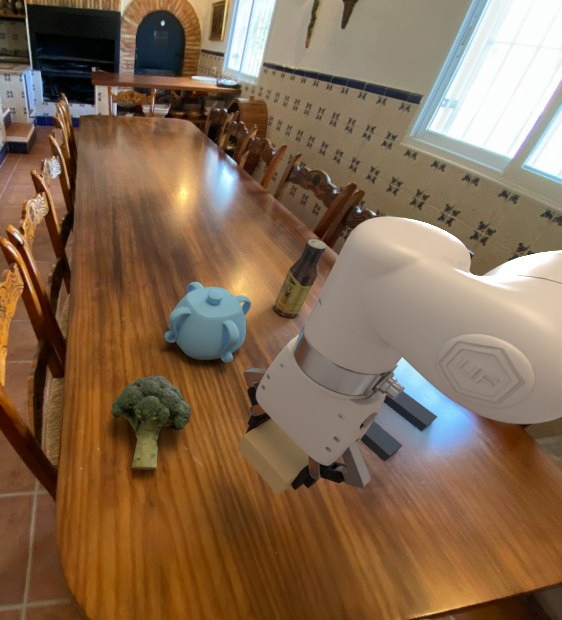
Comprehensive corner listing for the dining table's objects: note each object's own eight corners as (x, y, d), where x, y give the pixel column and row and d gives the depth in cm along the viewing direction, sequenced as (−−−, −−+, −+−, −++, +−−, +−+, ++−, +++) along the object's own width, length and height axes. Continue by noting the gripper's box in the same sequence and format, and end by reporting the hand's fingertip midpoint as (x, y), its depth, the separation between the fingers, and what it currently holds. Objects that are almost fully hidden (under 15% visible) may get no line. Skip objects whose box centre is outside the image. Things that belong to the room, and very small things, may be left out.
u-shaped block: (432, 422, 68) (437, 416, 66) (384, 461, 61) (390, 455, 60) (340, 352, 80) (343, 347, 79) (292, 378, 74) (295, 372, 72)
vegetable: (87, 458, 55) (108, 365, 61) (140, 469, 63) (154, 386, 69) (147, 471, 47) (164, 362, 53) (198, 481, 55) (208, 386, 61)
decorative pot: (224, 382, 72) (241, 333, 63) (154, 348, 77) (161, 299, 69) (248, 335, 83) (266, 288, 74) (186, 309, 88) (195, 262, 80)
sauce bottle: (271, 301, 93) (298, 233, 80) (295, 305, 93) (326, 236, 80) (275, 317, 88) (304, 247, 75) (300, 321, 88) (335, 251, 75)
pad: (314, 467, 43) (325, 454, 41) (277, 496, 40) (287, 483, 38) (273, 425, 47) (280, 411, 45) (236, 448, 45) (243, 434, 43)
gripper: (464, 410, 28) (359, 504, 40) (290, 292, 39) (247, 392, 51) (416, 455, 25) (317, 543, 36) (241, 312, 36) (207, 414, 47)
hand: (277, 455), depth 43 cm, fingers closed on pad, 6 cm apart
